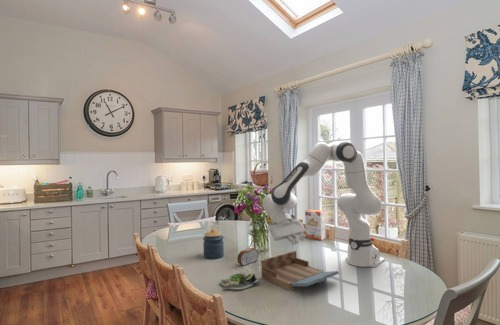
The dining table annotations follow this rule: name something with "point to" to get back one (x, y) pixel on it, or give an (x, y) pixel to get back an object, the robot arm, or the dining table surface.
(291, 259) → the wooden tray box
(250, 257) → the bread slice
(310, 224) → the cracker box
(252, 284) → the salad plate
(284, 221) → the robot arm
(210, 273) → the dining table surface
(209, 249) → the canister
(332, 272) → the panel
